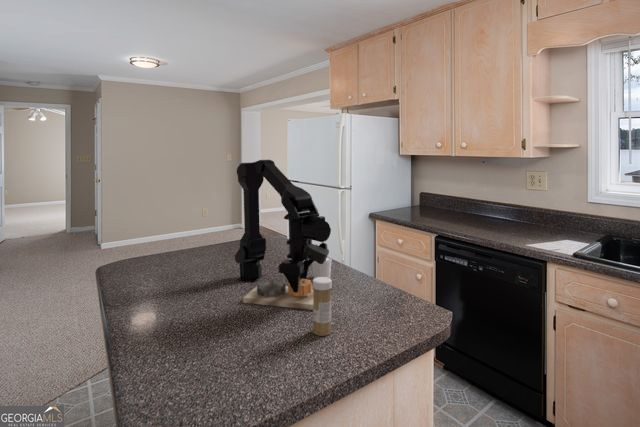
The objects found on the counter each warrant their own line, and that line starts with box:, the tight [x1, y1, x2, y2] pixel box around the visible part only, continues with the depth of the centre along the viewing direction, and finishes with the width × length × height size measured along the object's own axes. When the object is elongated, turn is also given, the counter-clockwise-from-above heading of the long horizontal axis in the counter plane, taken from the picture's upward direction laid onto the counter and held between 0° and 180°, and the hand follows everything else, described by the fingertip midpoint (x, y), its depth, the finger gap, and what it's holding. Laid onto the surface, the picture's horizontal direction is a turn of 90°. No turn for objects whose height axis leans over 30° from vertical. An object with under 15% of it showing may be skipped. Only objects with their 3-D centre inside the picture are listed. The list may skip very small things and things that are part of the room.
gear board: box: [242, 278, 313, 311], centre depth 113 cm, size 22×12×6 cm, turn 75°
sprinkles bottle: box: [312, 277, 333, 337], centre depth 91 cm, size 5×5×13 cm
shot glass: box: [311, 256, 333, 279], centre depth 130 cm, size 7×7×7 cm
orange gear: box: [287, 278, 313, 296], centre depth 111 cm, size 7×7×3 cm
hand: (299, 287), depth 111 cm, fingers closed on orange gear, 7 cm apart
